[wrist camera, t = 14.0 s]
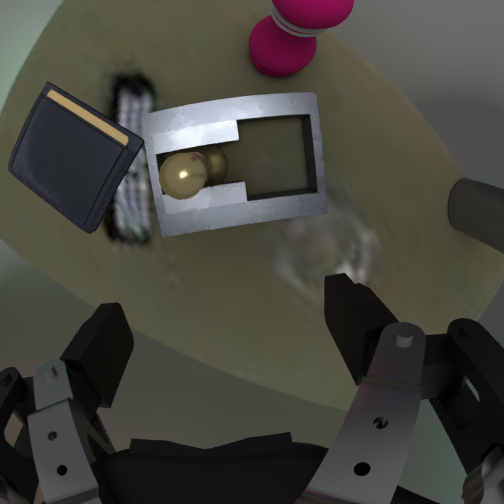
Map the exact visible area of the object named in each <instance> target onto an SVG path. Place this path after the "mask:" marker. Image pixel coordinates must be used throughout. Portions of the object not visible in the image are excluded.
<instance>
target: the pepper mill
mask: <svg viewBox="0 0 504 504" xmlns="http://www.w3.org/2000/svg"><path fill="white" fill-rule="evenodd" d="M272 2H273V3H272V5H271V15H270V16H268V17H265V18H264V19H262V20H261V21H260V22H259V23H257V24H256V26H255V27H254V28H253V30H252V32H251V34H250V38H249V48H250V51H251V52H250V57H251V61H252V63H253V64H254V66H255V67H256V68H257V69H258V70H259V71H260V72H262V73H263V74H265V75H268V76H272V77H284V76H288V75H290V74H292V73H293V72H295V71H298V70H300V69H302V68H304V67H305V66H307V65H308V63H309V62H310V61H311V60H312V58H313V57H314V55H315V52H316V44H317V42H316V36H317V35H320V34H322V33H323V32H324V31H325V30H326V29H327V28H331V27H334V26H337V25H338V24H340V23H341V22H343V21H344V20H345V19H346V18H347V17H348V16H349V14H350V13H351V11H352V8H353V5H354V0H272Z"/></svg>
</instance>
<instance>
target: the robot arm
mask: <svg viewBox="0 0 504 504" xmlns="http://www.w3.org/2000/svg"><path fill="white" fill-rule="evenodd" d="M448 213H449V219H450V222H451V224H452V226H453V227H454V228H455V229H457V230H459V231H461V232H463V233H465V234H467V235H469V236H471V237H473V238H475V239H477V240H479V241H481V242H483V243H485V244H487V245H489V246H490V247H492V248H494V249H496V250H498V251H500V252H501V253H503V254H504V189H503V188H499V187H496V186H493V185H489V184H486V183H482V182H479V181H475V180H471V179H462V180H460V181H459V182H457V184H456V185H455V186H454V188H453V190H452V192H451V195H450V198H449V204H448ZM324 314H325V321H326V324H327V327H328V329H329V331H330V333H331V335H332V337H333V339H334V341H335V343H336V345H337V347H338V349H339V351H340V353H341V355H342V357H343V359H344V361H345V363H346V365H347V367H348V369H349V371H350V373H351V376H352V378H353V380H354V382H355V384H356V386H358V385H359V388H358V390H357V393H356V395H355V397H354V399H353V402H352V404H351V406H350V408H349V411H348V413H347V415H346V417H345V419H344V421H343V423H342V425H341V427H340V430H339V431H338V433H337V435H336V437H335V439H334V441H333V443H332V445H331V447H330V449H328V448H325V447H322V446H318V445H314V444H308V443H298V442H292V438H291V433H290V432H286V433H280V434H274V435H266V436H259V437H250V438H246V439H243V440H239V441H236V442H232V443H229V444H225V445H222V446H218V447H214V448H210V449H201V448H196V447H191V446H187V445H182V444H178V443H174V442H170V441H164V440H163V441H162V440H145V439H131V443H130V448H129V449H126V450H122V451H118V452H117V451H116V450H115V448H114V446H113V444H112V442H111V440H110V438H109V436H108V433H107V431H106V429H105V427H104V425H103V423H102V421H101V418H100V416H99V414H98V413H97V412H96V411H97V408H98V407H103V408H111V405H112V402H113V399H114V397H115V394H116V391H117V388H118V386H119V383H120V380H121V378H122V375H123V373H124V370H125V368H126V365H127V362H128V360H129V358H130V355H131V353H132V350H133V347H134V340H133V335H132V332H131V330H130V327H129V325H128V322H127V320H126V317H125V314H124V312H123V309H122V307H121V305H120V304H119V303H105V304H101V305H100V306H99V307H98V308H97V310H96V311H95V313H94V314H93V315H92V317H91V318H90V319H88V320H87V321H86V322H85V323H83V325H82V326H81V327H80V329H79V330H78V333H76V335H75V336H74V339H73V340H72V341H71V342H70V344H69V345H68V347H67V348H66V350H65V351H64V353H63V354H62V356H61V357H60V359H52V360H48V361H46V362H44V363H42V364H41V365H40V366H39V367H38V368H37V369H36V371H35V372H34V375H33V377H27V378H22V376H21V375H20V373H19V372H18V370H17V369H16V368H14V367H9V368H6V369H4V370H2V371H1V372H0V504H33V503H34V499H35V494H36V491H37V487H38V483H39V482H40V485H41V489H42V492H43V495H44V499H45V501H44V502H43V503H41V504H440V503H437V502H435V501H432V500H430V499H427V498H425V497H423V496H420V495H418V494H415V493H413V492H411V491H409V490H407V489H405V488H403V487H400V486H398V485H397V484H398V482H399V479H400V476H401V473H402V470H403V467H404V464H405V461H406V458H407V454H408V451H409V448H410V444H411V441H412V437H413V433H414V429H415V425H416V421H417V417H418V412H419V407H420V402H421V400H422V399H429V401H430V403H431V405H432V406H433V408H434V410H435V412H436V414H437V415H438V417H439V419H440V421H441V423H442V425H443V427H444V429H445V431H446V432H447V434H448V436H449V438H450V440H451V442H452V444H453V446H454V448H455V450H456V452H457V454H458V457H459V459H460V461H461V463H462V465H463V467H464V469H465V471H466V474H467V477H466V478H465V481H464V483H463V488H462V492H463V493H462V496H461V499H462V501H463V503H464V504H504V348H503V347H502V346H501V345H500V344H499V343H498V342H497V341H496V340H495V339H494V338H493V337H492V336H491V335H490V333H489V332H488V331H486V329H485V328H484V327H482V325H481V324H479V323H478V322H476V321H474V320H471V319H467V318H459V319H456V320H453V321H452V322H451V323H450V324H449V327H448V330H447V333H446V334H435V335H425V333H424V331H423V330H422V329H421V328H420V327H418V326H417V325H414V324H412V323H408V322H399V321H398V320H397V318H396V317H395V316H394V315H393V314H392V313H391V312H390V310H389V309H388V308H387V307H386V306H385V305H384V303H382V301H381V300H380V299H379V298H378V297H377V296H376V294H375V293H374V292H373V291H372V290H371V289H370V288H368V287H366V286H364V285H362V284H360V283H357V284H354V283H353V281H352V280H351V279H350V278H349V277H348V276H347V274H346V273H341V274H335V275H329V276H326V277H325V281H324ZM467 379H469V381H470V382H471V383H472V385H473V386H474V388H475V389H476V390H477V392H478V394H479V402H478V400H477V399H476V397H475V395H474V394H473V392H472V391H471V390H470V388H469V387H468V385H467V384H466V381H467ZM12 413H14V415H15V416H16V417H17V418H18V420H19V421H20V422H21V423H22V424H23V426H22V429H21V431H20V433H19V436H18V438H17V440H16V443H15V445H14V448H13V447H12V446H11V445H10V444H9V443H8V442H7V441H6V439H5V436H4V429H5V427H6V425H7V423H8V420H9V419H10V417H11V414H12Z"/></svg>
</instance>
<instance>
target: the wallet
mask: <svg viewBox="0 0 504 504" xmlns="http://www.w3.org/2000/svg"><path fill="white" fill-rule="evenodd" d="M144 143H145V141H144V140H143V139H141V138H140V137H138V136H137V135H136V134H134V133H133V132H131V131H129V130H128V129H126V128H124V127H122V126H121V125H119V124H117V123H116V122H114V121H112V120H111V119H109V118H108V117H106V116H104V115H103V114H101V113H100V112H98V111H96V110H95V109H93V108H91V107H90V106H88V105H86V104H85V103H83V102H82V101H80V100H78V99H77V98H75V97H73V96H72V95H70V94H68V93H66V92H65V91H63V90H61V89H60V88H58V87H56V86H55V85H53V84H51V83H49V82H48V81H47V83H46V85H45V86H44V88H43V90H42V92H41V93H40V95H39V96H38V98H37V100H36V101H35V103H34V105H33V107H32V109H31V111H30V113H29V115H28V117H27V119H26V121H25V123H24V126H23V128H22V130H21V132H20V135H19V137H18V139H17V142H16V144H15V147H14V149H13V152H12V154H11V157H10V160H9V165H8V171H10V172H11V173H12V174H13V175H14V176H15V177H16V178H17V179H18V180H19V181H21V182H22V183H23V184H24V185H26V186H27V187H28V188H29V189H31V190H32V191H33V192H34V193H36V194H37V195H38V196H40V197H41V198H42V199H44V200H45V201H46V202H47V203H48V204H50V205H51V206H52V207H53V208H55V209H56V210H57V211H58V212H60V213H61V214H62V215H64V216H65V217H66V218H67V219H69V220H70V221H71V222H72V223H74V224H75V225H76V226H78V227H79V228H80V229H82V230H84V231H85V232H87V233H89V234H90V233H92V232H94V231H96V229H97V227H98V226H99V224H100V222H101V220H102V218H103V216H104V214H105V212H106V210H107V208H108V206H109V204H110V202H111V200H112V198H113V196H114V194H115V192H116V190H117V188H118V186H119V184H120V183H121V181H122V179H123V178H124V176H125V174H126V172H127V171H128V169H129V167H130V166H131V164H132V162H133V161H134V159H135V157H136V155H137V154H138V152H139V150H140V149H141V147H142V146H143V144H144Z"/></svg>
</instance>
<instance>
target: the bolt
mask: <svg viewBox="0 0 504 504" xmlns="http://www.w3.org/2000/svg"><path fill="white" fill-rule="evenodd" d="M225 173H226V159H225V156H224V154H223V152H222V150H221V149H220V148H219V147H218V146H217V145H216V144H209V145H203V146H197V147H191V148H186V149H181V150H176V151H175V153H174V155H172V156H170V157H169V158H168V159H166V160H165V161H164V163H163V164H162V166H161V168H160V171H159V182H160V185H161V188H162V189H163V191H164V192H165V193H166V194H167V195H168V196H170V197H172V198H174V199H178V200H185V199H189V198H192V197H194V196H195V195H196V194H198V193H199V192H200V190H201V189H202V187H205V186H211V185H217V184H220V183H221V182H222V180H223V178H224V176H225Z"/></svg>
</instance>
